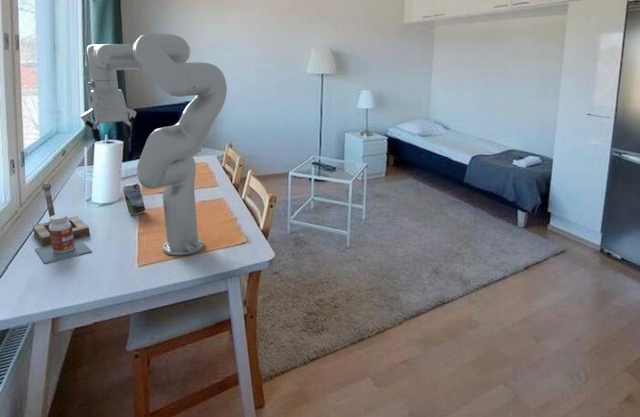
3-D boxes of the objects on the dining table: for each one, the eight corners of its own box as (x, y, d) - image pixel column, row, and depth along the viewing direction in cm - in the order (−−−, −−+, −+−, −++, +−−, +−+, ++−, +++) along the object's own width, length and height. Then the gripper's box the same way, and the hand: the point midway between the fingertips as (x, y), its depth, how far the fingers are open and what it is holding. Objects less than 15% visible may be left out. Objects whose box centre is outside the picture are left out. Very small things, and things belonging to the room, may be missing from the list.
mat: (91, 252, 142) (91, 250, 142) (44, 264, 134) (44, 262, 134) (79, 239, 151) (79, 238, 151) (35, 249, 143) (35, 248, 143)
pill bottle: (66, 254, 139) (60, 220, 135) (48, 252, 140) (41, 219, 136) (79, 246, 145) (74, 213, 141) (62, 244, 146) (56, 212, 142)
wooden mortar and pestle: (90, 235, 154) (82, 191, 149) (43, 246, 145) (33, 199, 140) (74, 219, 168) (66, 178, 162) (30, 228, 159) (21, 185, 153)
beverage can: (139, 217, 171) (136, 186, 167) (122, 215, 173) (118, 185, 169) (149, 211, 177) (145, 182, 173) (132, 209, 178) (128, 180, 174)
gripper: (80, 87, 136) (89, 144, 142) (136, 85, 148) (143, 137, 153) (72, 86, 141) (81, 140, 147) (127, 83, 153) (134, 134, 158)
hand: (112, 138), depth 150 cm, fingers open, 9 cm apart
